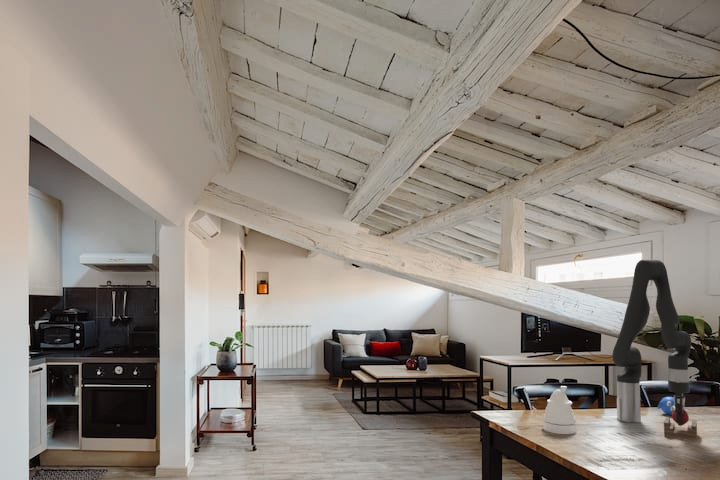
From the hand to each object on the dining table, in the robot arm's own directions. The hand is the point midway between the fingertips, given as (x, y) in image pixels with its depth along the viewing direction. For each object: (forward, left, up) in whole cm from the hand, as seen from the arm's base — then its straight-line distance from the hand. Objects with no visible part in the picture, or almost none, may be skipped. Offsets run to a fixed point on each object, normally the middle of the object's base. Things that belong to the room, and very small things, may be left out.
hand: (680, 421), depth 216 cm
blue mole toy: (+7, +41, -6) cm, 42 cm away
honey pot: (-47, -8, -6) cm, 48 cm away
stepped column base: (0, 0, -6) cm, 6 cm away
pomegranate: (0, 0, -2) cm, 2 cm away
